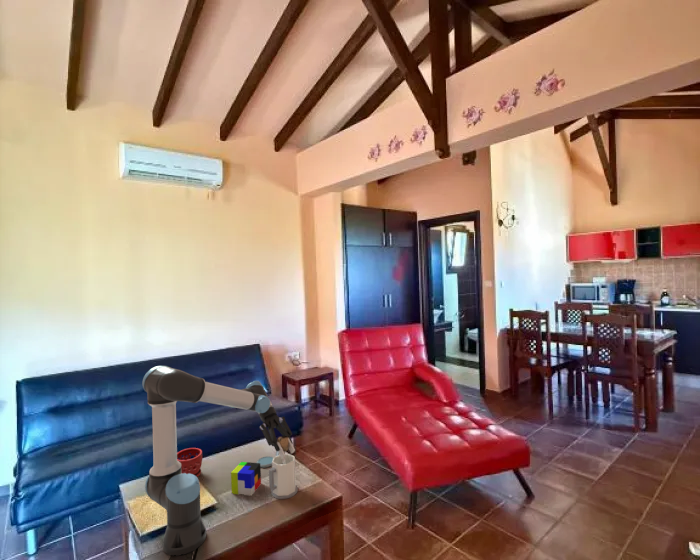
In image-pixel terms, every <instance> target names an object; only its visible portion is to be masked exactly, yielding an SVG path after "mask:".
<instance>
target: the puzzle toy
mask: <svg viewBox="0 0 700 560" xmlns="http://www.w3.org/2000/svg"><path fill="white" fill-rule="evenodd" d="M261 469H262V467H261V466H260V463H257V462H251V461H250V462H249V461H241V462H240V463H238V465H237V466H235V468H234V469H233V470H232V471H231V472H230V482H231V483H230V487H231V488H230V489H231V494H232V493H233V494H232V495H239V494H244V495H243V496H250V495H252V494H253V495H254V493H255V492H256V491H257V490H258V488H259V487H260V486H261V484H262V471H261ZM256 489H257V490H256ZM253 495H252V496H253Z"/></svg>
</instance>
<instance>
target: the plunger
mask: <svg viewBox="0 0 700 560" xmlns="http://www.w3.org/2000/svg"><path fill="white" fill-rule="evenodd" d="M276 440H277V442H279V443H280V445H281V447H282V449H283V451H284V453H285V454H286V452H287V451H288V450H289V442H288V437H287V436H283V435H281V436H278V438H276ZM282 464H285V456H284V457H283V458H282Z"/></svg>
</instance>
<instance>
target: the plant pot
mask: <svg viewBox="0 0 700 560" xmlns="http://www.w3.org/2000/svg"><path fill="white" fill-rule="evenodd" d="M192 456H193V458H191V457H192ZM177 461H179V462H180V463H181V471H182V474H183V473H186V474H188V473H190V474H193V475H195V476H196V477H197V478H198V477H199V476H200V475H201V473H202V469H201V468H202V464H203V463H202V462H203V450H202V449H201V448H198V447H197V448H196V447H189V448H184V449H182V450H180V451H177Z"/></svg>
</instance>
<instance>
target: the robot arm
mask: <svg viewBox="0 0 700 560" xmlns="http://www.w3.org/2000/svg"><path fill="white" fill-rule="evenodd" d="M141 385H142V388H143V390H144V392H146V393H147V399H146V400H147V404H148V405H149V406H150V407H151V414H152V415H151V416H152V417H151V418H152V419H151V420H152V423H151V424H152V452H153V453H152V454H153V456H152V457H153V462H152V463H153V466H152V467H150V469H149V474H148V476H147V478H146V479H145V483H144V490H145V492H146V494H147V496H148V498H149V499H150V500H151V501H153V502H155V503H156V504H157V505H159V506H161V507H162V508H163V509H165V510H166V520H167V521H166V522H167V523H166V524H167V525H166V529H165V532H164V536H163V539H162V550H163V552H164V553H165V554H166V555H169V556H174V555H176V556H181V554H183V555H186V554H189V553H191V552H194V551H195V550H197V549H199V547H200V546H202V544H203V543H204V542H205V540H206V539H207V529H206V526H205V523H204V521H203V519H202V516H201V485H200V480H199V478H198V477H196V476H195V475H193V474H190V473H188V474H186V473H183V474H182V471H181V463H180V462H179V461H177V453H178V447H177V446H178V441H177V436H178V435H177V407H176V406H177V405H176V404H177V402H185V403H193V404H196V403H198V402H202V403H207V404H208V403H209V404H213V405H220V406H224V407H229V408H230V409H235V408H237V409H240V410H246V411H251V412H256V413H258V415H259V417H260V420H261V422H262V424H261V425H260V426H259V430H261V431H260V432H262V434H263V436H264V438H265V441H266V443H267V444H268V446H271V447H274V450H275V452H276V451H278V452H279V455H280V456H281V458H283V457H284V456H285V454H286V452H285V453H284V451H283V449H282V447H281V445H280V443H279V442H277V437H276V433H275V429H276V430H277V431H278V432H279V433H280V434H281V436H287V437H288V442H289V449H288V450H289V452H290V455H292V454H293V453H295V451H296V449H295V447H294V445H293V443H294V442H293V440H292V439H291V436H292V435H293V432H292V430H291V428H290V426H289V424H288V423H287V421H286V417H285V416H282V417H279V415H277V411H276V409H275V408H274V406H273V403H272V401H271V399H270V398H269V396H268V394H267V392H266V390H265V388H264V386H263V384H262V383H261V381H259V380H253V381H251V382H250V383H248V384H247V386H246V387H245V388H242V389H237V388H234V387H229V386H225V385H220V384H216V383H213V382H208V381H206V380H205V379H204V378H202V377H198V376H196V375H193V374H190V373H188V372H186V371H184V370H181V369H177V368H175V367H174V368H172V367H170V366H168V365H157V366H154V367H152V368H150V369H149V370H148V371H147V372H146V373H145V375H144V376H143V379H142V383H141Z"/></svg>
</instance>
